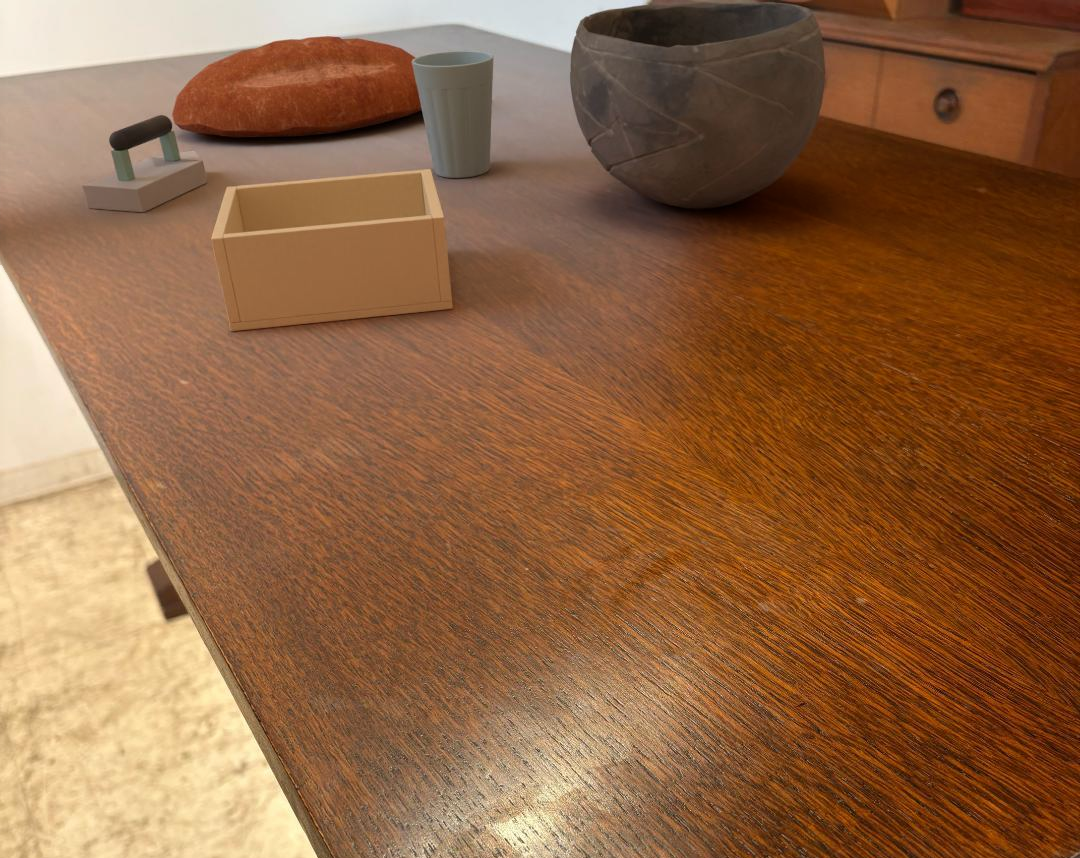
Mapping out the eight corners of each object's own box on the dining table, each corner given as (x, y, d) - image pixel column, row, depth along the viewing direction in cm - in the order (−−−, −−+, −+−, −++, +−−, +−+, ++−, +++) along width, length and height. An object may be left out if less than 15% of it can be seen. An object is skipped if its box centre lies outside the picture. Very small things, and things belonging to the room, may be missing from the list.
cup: (426, 162, 111) (415, 52, 105) (501, 158, 111) (494, 48, 105) (419, 183, 105) (407, 67, 99) (499, 179, 105) (491, 63, 99)
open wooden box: (230, 331, 76) (210, 238, 72) (243, 270, 86) (226, 186, 82) (452, 309, 77) (444, 217, 74) (438, 251, 88) (430, 168, 84)
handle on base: (143, 212, 101) (125, 140, 97) (88, 208, 103) (68, 137, 99) (226, 174, 111) (212, 107, 107) (174, 170, 113) (159, 104, 109)
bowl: (561, 175, 105) (555, 3, 96) (776, 160, 106) (789, -11, 97) (588, 245, 87) (585, 43, 79) (845, 227, 88) (868, 25, 80)
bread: (469, 123, 125) (462, 38, 120) (185, 160, 116) (165, 71, 111) (419, 87, 142) (412, 13, 137) (170, 117, 134) (152, 39, 129)
